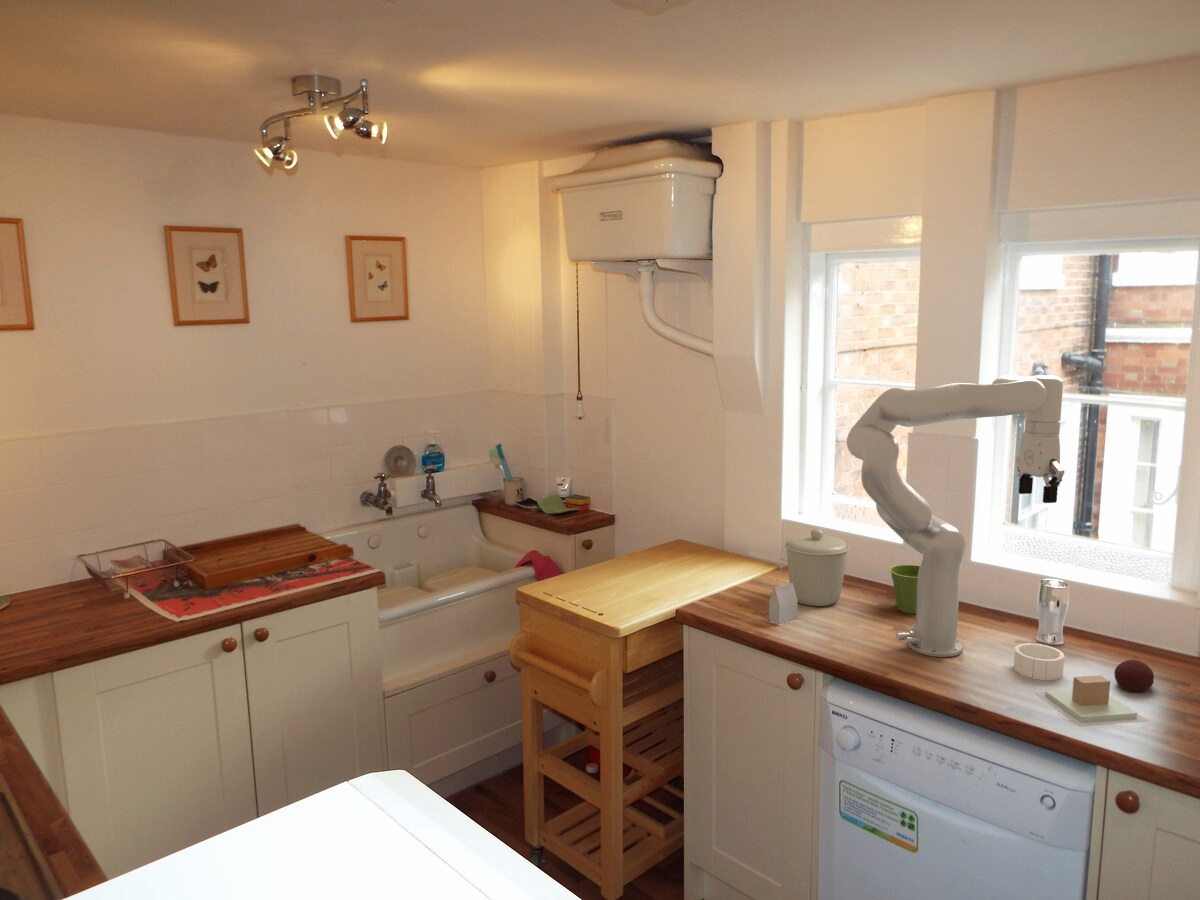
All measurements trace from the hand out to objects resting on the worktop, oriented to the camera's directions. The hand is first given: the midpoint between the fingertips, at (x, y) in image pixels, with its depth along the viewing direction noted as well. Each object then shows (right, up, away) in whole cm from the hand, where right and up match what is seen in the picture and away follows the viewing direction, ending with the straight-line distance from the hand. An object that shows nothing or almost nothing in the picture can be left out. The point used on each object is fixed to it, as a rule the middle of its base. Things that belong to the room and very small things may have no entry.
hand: (1037, 497), depth 212 cm
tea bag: (-57, -34, +23) cm, 70 cm away
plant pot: (-20, -33, +30) cm, 49 cm away
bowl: (-5, -39, -11) cm, 41 cm away
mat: (-3, -42, -29) cm, 51 cm away
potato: (+11, -41, -20) cm, 47 cm away
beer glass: (+7, -36, +7) cm, 37 cm away
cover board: (-3, -42, -29) cm, 51 cm away
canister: (-44, -32, +38) cm, 66 cm away
